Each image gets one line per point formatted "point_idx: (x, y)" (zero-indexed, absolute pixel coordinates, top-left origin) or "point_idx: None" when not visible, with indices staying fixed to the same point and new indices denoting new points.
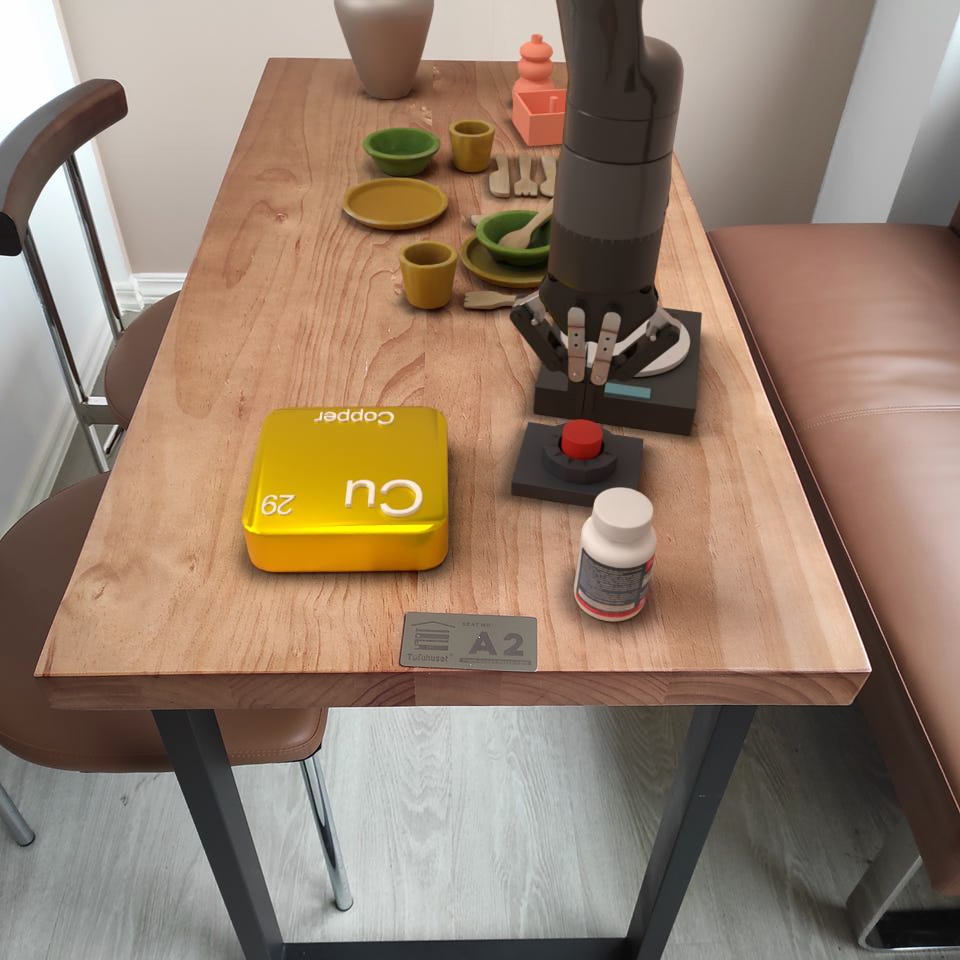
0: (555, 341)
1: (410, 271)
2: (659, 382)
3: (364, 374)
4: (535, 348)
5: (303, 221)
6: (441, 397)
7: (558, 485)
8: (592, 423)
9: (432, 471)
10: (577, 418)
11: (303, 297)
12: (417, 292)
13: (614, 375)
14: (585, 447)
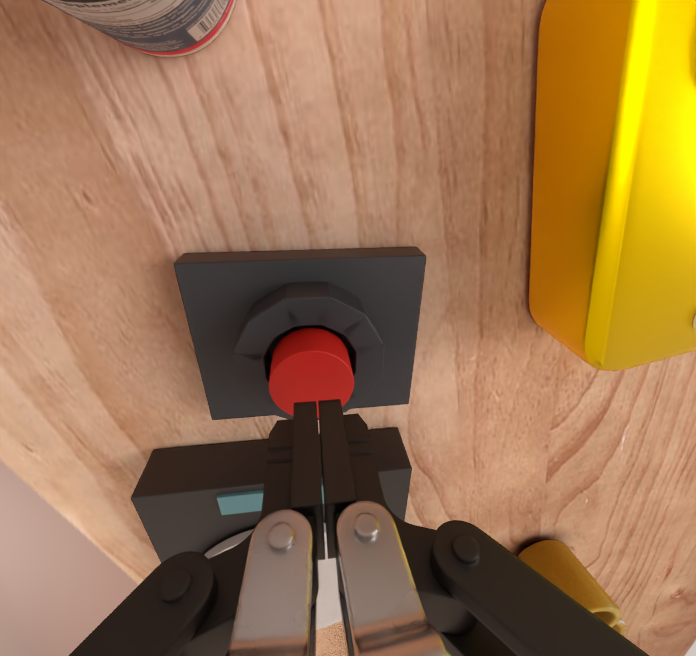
0: (475, 649)
1: (602, 596)
2: (213, 529)
3: (627, 429)
4: (581, 621)
5: (656, 596)
6: (528, 419)
7: (336, 269)
8: None
9: (650, 165)
10: (328, 400)
11: (678, 515)
12: (570, 563)
13: (224, 568)
14: (297, 347)
